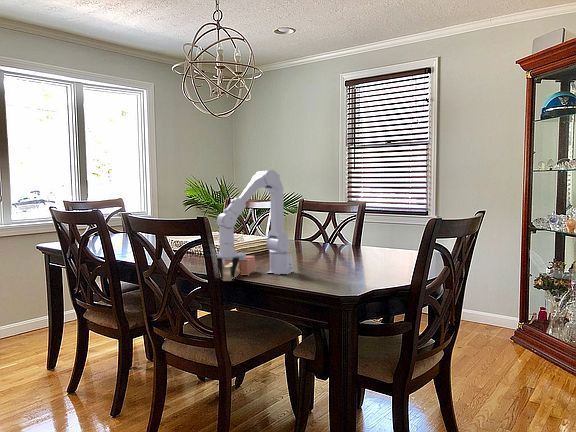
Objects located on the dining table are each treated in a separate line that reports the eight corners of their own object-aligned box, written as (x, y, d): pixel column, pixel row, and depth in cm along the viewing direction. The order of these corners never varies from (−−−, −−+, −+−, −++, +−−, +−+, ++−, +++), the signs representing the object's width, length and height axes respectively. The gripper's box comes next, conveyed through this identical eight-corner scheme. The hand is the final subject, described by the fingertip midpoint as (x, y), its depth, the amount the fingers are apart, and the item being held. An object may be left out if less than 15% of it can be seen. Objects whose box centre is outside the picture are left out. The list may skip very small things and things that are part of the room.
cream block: (233, 274, 204) (232, 261, 204) (240, 274, 204) (239, 261, 203) (222, 280, 193) (222, 267, 192) (230, 280, 192) (229, 267, 192)
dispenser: (233, 270, 214) (233, 255, 213) (255, 271, 211) (254, 255, 211) (225, 275, 204) (224, 259, 203) (247, 276, 201) (247, 259, 201)
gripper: (245, 241, 197) (246, 274, 198) (209, 242, 196) (210, 275, 197) (244, 243, 190) (245, 277, 191) (207, 244, 189) (208, 279, 190)
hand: (227, 276), depth 193 cm, fingers closed on cream block, 4 cm apart
